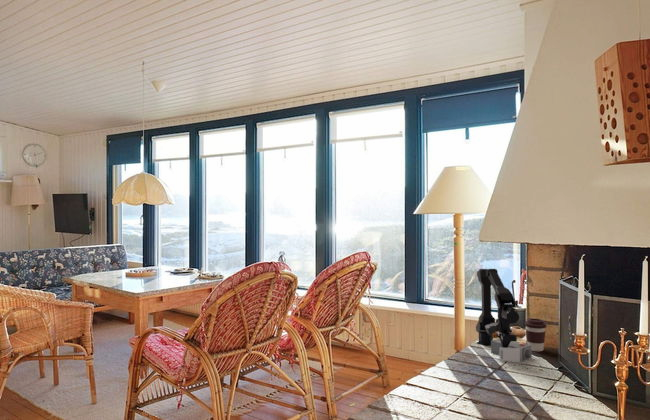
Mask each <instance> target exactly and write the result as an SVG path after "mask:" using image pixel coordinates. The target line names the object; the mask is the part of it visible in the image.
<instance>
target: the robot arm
mask: <svg viewBox="0 0 650 420" xmlns="http://www.w3.org/2000/svg"><path fill="white" fill-rule="evenodd" d="M476 277H477V281H478V282H479V284H480V287H481V313H480V315H479V316H478V321H477V323H476V325H475V331H476V332H477V333H478V341H477V342H476V344H478V345H481V346H485V347H488V346H491V341H492V340H494V336H493V334H495V335H496V337H498V339H499V338H500V341H501V345H502V348H508V346H509V344H510V342H511V341H517V342H518V338H517V335H516V334H514V333H513V329H512V327H511V325H512V324H516V323H518V321H519V320H520V315H519V313H518V311H515V310H516V308H517V306H516V305H517V302H516V300H515V298H514V295H513V293H512V291H510V289H509V288H507V287H506V286H505V285H504V283H503V281H502V279H501V278H500V275H499V273H498V269H497V268H479V269H478V270H477V271H476ZM492 288H493V290H494V292H495V294H494V301H495V303H496V307H497V318H495V317H494V316H493V314H492ZM496 333H497V334H496Z"/></svg>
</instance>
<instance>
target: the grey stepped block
mask: <svg viewBox="0 0 650 420" xmlns="http://www.w3.org/2000/svg"><path fill="white" fill-rule="evenodd" d="M500 348H502V345H501V341H500V338H499V337H498V338H496V339H493V340H492V341H491V345H490V353H491V354H494V355H498V356H500ZM508 348H522V362H523V361H527V360H529V359H532V354H533V353H532V352H533V351H532V349H531V345H528V343H525V342H521V341H518V340H517V341H511V342H510V344H509V346H508Z"/></svg>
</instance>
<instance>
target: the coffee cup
mask: <svg viewBox="0 0 650 420" xmlns="http://www.w3.org/2000/svg"><path fill="white" fill-rule="evenodd" d="M524 326H525V332H526V333H525V335H526V341H527V343H526V344H528V345H531V349H532V352H542V351H544V348H545V341H546V328H547V323H546V322H544V321H543V319H540V318H529V319H527V320H526V321H525V322H524Z"/></svg>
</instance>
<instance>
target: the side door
mask: <svg viewBox="0 0 650 420" xmlns="http://www.w3.org/2000/svg"><path fill="white" fill-rule="evenodd" d="M499 361H501V362H502V361H503V362H520V363H522V362H523V361H522V348H500V355H499Z"/></svg>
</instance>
